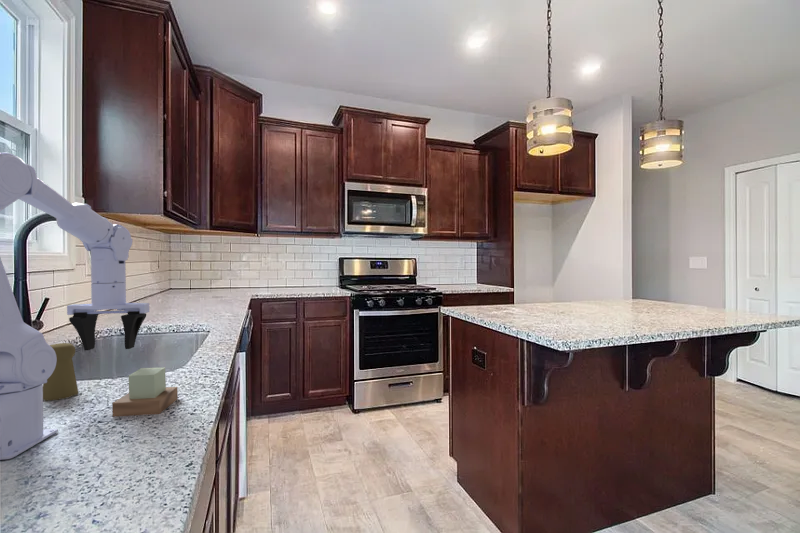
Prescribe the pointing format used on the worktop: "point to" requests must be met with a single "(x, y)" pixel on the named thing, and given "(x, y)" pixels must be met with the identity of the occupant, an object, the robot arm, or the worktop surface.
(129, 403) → the walnut block
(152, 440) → the worktop surface
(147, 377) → the sage cube
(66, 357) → the cork
